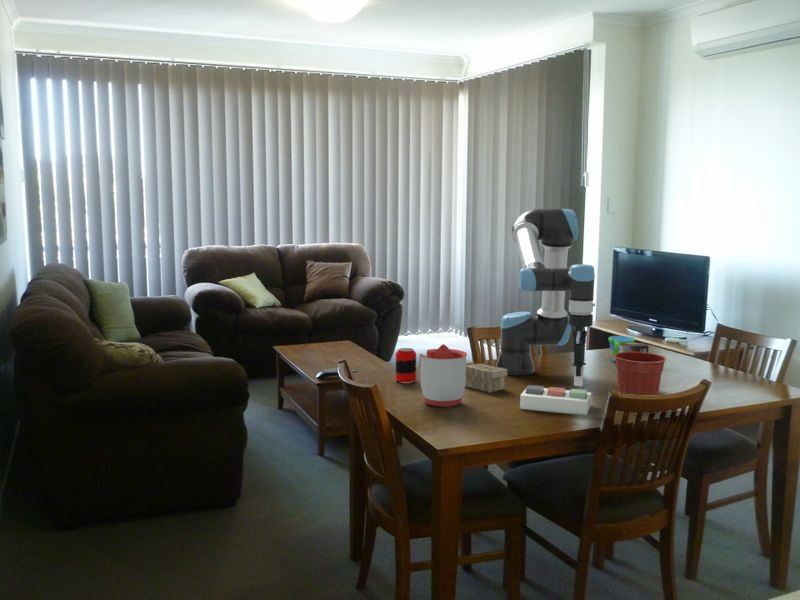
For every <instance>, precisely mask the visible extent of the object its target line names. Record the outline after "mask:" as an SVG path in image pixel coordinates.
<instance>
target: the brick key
mask: <svg viewBox="0 0 800 600" xmlns="http://www.w3.org/2000/svg"><path fill="white" fill-rule="evenodd" d="M565 390H566V388H565V387H557V386H556V387H554V386H550V387H549V388H548V390H547V395H550V396H561V397H564V395H565Z"/></svg>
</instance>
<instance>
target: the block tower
mask: <svg viewBox="0 0 800 600" xmlns="http://www.w3.org/2000/svg"><path fill="white" fill-rule="evenodd" d="M505 377H508V375H507V369H504V368H497V367H496V366H492V365H488V364H484V363H477V364H475V362H474V361H468V360H466V384H465V385H466V386H465V387H467V386H470V387H473V388H472V389H474V388H477V389H476V390H478V389H481V390H480V391H482V390H484V391H483V392H486V391H488V392H487V393H494V392H498V390H499V391H500V390H504V389H505ZM470 387H469V388H470ZM493 391H494V392H493Z"/></svg>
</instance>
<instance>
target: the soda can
mask: <svg viewBox="0 0 800 600" xmlns="http://www.w3.org/2000/svg"><path fill="white" fill-rule="evenodd" d="M416 364H417V352H416V351H415V350H414V348H411V347H401V348H398V349H397V351H396V352H395V381H396V380H397V381H400V382H411V381H415V380H416V381H417V367H416ZM397 381H396V382H397ZM416 381H415V382H416Z"/></svg>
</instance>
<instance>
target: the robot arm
mask: <svg viewBox="0 0 800 600" xmlns="http://www.w3.org/2000/svg"><path fill="white" fill-rule="evenodd" d="M511 237H512V240H513V242H514V243H516V246H517V247H516V248H517V249H518V254H519V259H520V263H521V266H522V267H521V268H520V269H519V272H518V288H519V289H520V290H521V291H524V292H525V291H527V292H542V293H541V306H540V308H539V309H538V310H537V311H536V315H532V313H531V311H516V312H510V313H506V314H504V315H503V316H501V317H502V318H501V321H500V322H501V323H500V352H499V354H498V357H497V361H496V364H495V367H497V368H504V369H507V376H528V375H533V374H534V373H535V364H534V361H533V358H532V355H531V346H544V347H545V346H549V347H550V346H553V347H557V346H564V345H567V343H568V341H569V340H570V336H571V332H572V327H575V330H574V331H573V334H572V336H573V363H572V364H571V365H572V367H574V369H573V370H574V371H573V375H574V376H573V386H574V387H583V386H584V368H585V367H584V366H586V365H587V363H586V362H585V354H586V353H585V352H586V344H587V336H588V331H587V330H586V328H587V327H588V328H589V327H592V326H593V320H594V316H593V314H592V313H593V312H594V307H596V304H595V302H594V293H595V278H596V275H595V267H594V266H593V265H592V264H585V263H583V264H581V263H580V264H579V263H577V264H573V265H571V266H570V267H568V254H569V249H570V248H571V247H573V246H574V245H573V242H576V241H577V240H578V238H579V224H578V219H577V215H576V212H575V211H574V210H573V209H571V208H531V209H528V210H525V211H523V212H522V213H520V214H519V216H517V218H515V220H514V222H513V223H512V225H511ZM539 242H541V243H539ZM540 244H541V246H542V247H543V248H544V258H543V254H542V250H541V247H540ZM566 292H569V298H568V312H569V314H568V312H567V311H566V310H565V297H566Z"/></svg>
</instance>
